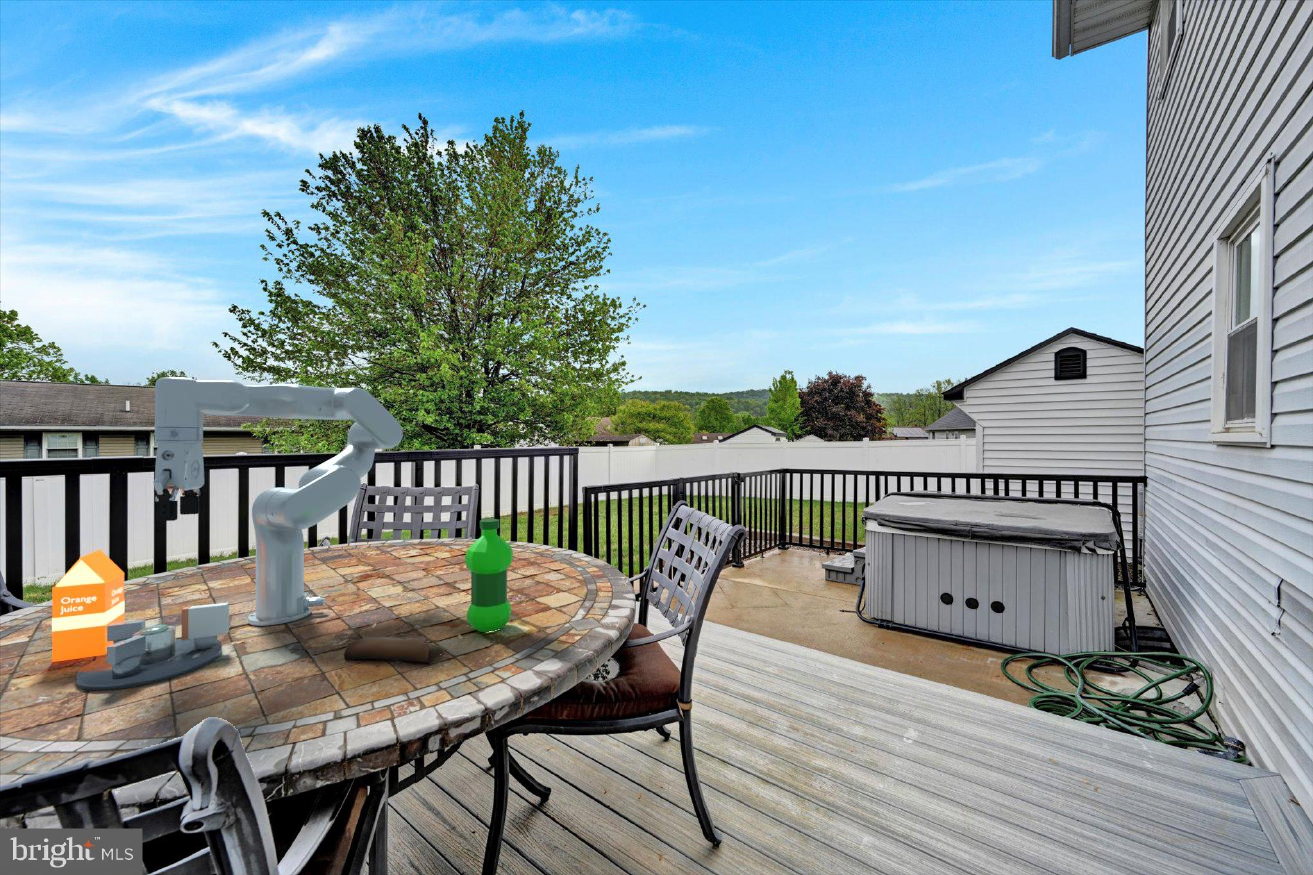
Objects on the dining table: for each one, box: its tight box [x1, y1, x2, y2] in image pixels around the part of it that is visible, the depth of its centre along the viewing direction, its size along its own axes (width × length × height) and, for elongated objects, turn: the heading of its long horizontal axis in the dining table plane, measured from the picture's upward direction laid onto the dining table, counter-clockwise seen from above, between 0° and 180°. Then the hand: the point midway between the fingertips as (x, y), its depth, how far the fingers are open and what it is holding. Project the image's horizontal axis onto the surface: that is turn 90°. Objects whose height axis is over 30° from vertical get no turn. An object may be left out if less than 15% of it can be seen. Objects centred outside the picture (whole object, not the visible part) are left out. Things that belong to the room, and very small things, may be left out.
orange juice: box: [51, 549, 125, 663], centre depth 107 cm, size 8×9×20 cm
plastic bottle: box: [464, 518, 514, 632], centre depth 119 cm, size 10×10×25 cm
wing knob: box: [181, 601, 230, 649], centre depth 106 cm, size 7×4×8 cm, turn 116°
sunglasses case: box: [343, 636, 447, 665], centre depth 105 cm, size 18×7×7 cm, turn 84°
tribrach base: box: [76, 619, 223, 692], centre depth 100 cm, size 20×20×8 cm
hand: (178, 517), depth 110 cm, fingers open, 9 cm apart
